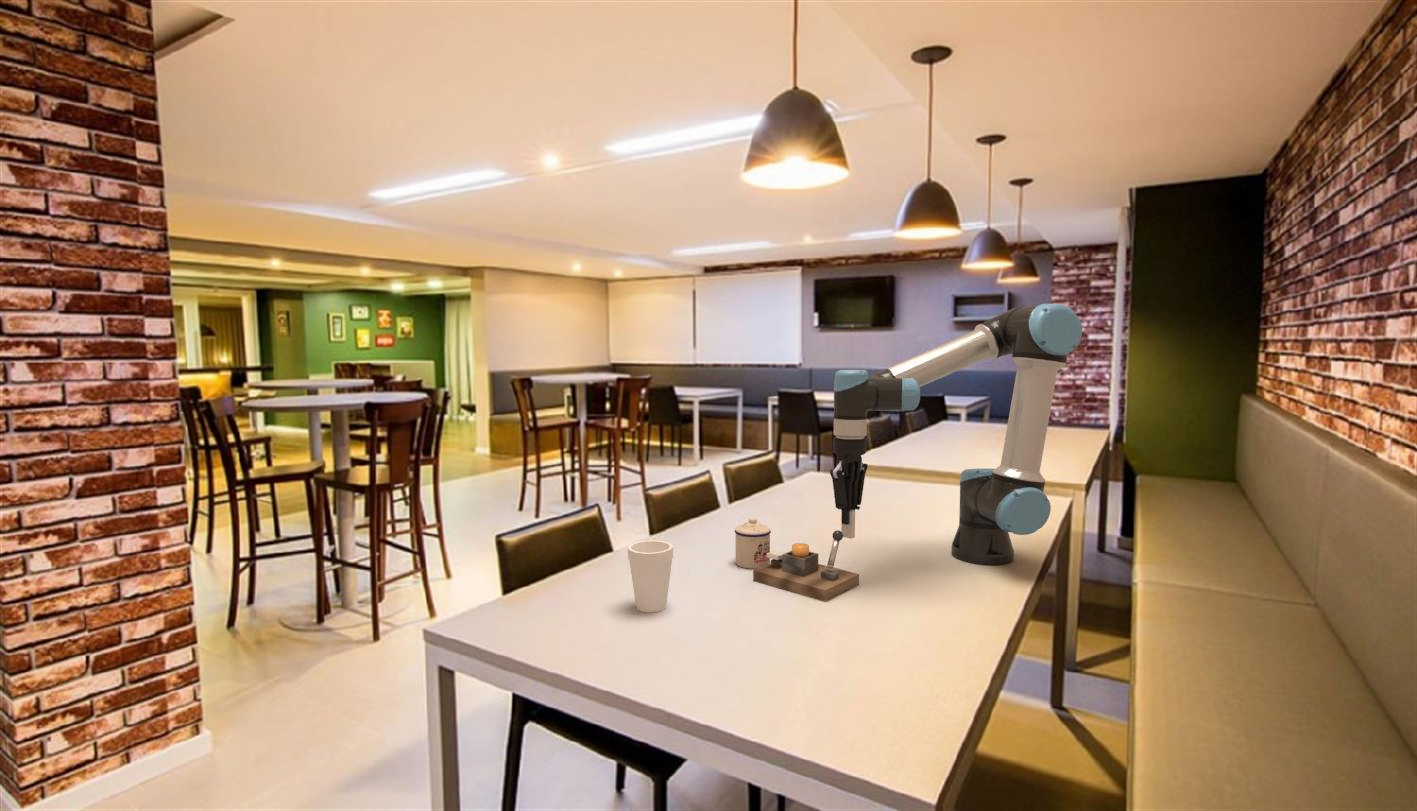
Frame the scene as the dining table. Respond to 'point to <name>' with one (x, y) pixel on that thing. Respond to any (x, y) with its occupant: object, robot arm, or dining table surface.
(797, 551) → the push button
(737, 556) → the teacup with lid
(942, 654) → the dining table surface
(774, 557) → the rocker switch
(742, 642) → the dining table surface
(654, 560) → the foam cup
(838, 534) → the toggle lever
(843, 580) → the switch panel
